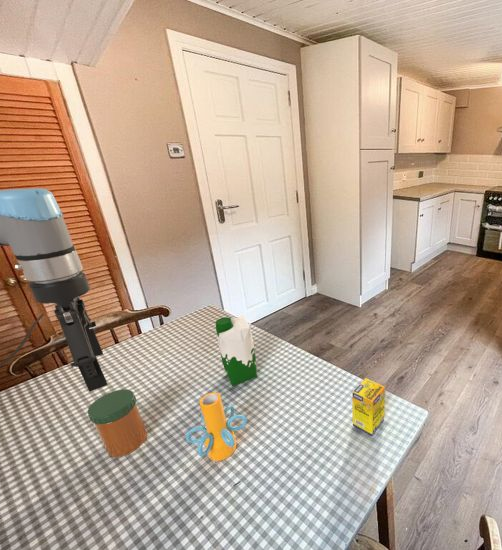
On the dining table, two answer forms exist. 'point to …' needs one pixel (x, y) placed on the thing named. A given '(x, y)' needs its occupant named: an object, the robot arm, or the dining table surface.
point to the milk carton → (236, 349)
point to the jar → (123, 434)
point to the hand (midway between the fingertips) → (96, 370)
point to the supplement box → (368, 406)
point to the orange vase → (216, 428)
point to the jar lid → (111, 406)
